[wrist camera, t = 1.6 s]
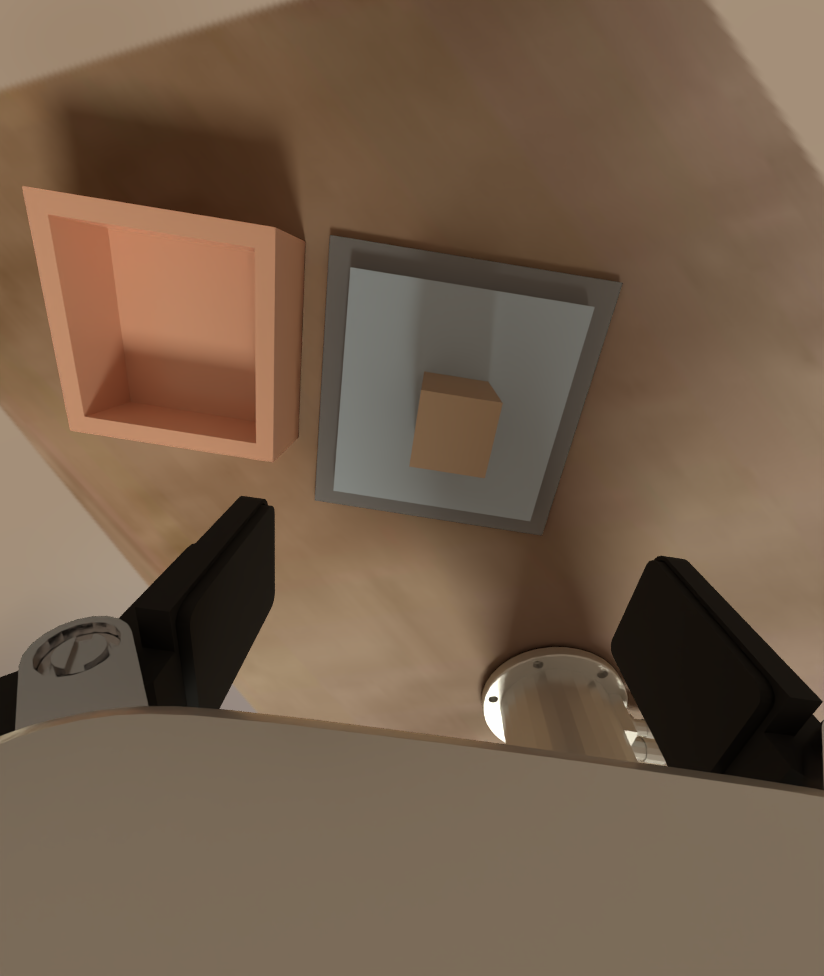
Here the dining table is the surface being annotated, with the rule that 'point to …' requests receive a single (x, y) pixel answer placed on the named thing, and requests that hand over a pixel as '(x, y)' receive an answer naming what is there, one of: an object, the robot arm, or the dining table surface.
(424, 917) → the robot arm
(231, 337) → the peach open tray
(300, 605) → the dining table surface
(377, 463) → the lid
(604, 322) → the mat
